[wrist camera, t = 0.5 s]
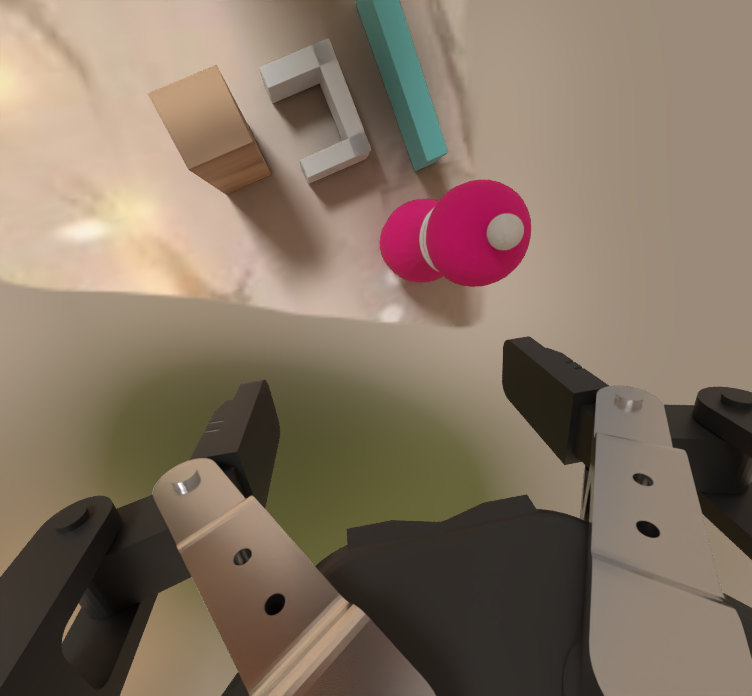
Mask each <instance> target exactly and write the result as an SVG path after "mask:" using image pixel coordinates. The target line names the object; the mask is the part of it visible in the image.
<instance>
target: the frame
mask: <svg viewBox="0 0 752 696" xmlns="http://www.w3.org/2000/svg"><path fill="white" fill-rule="evenodd" d="M259 70H260V73H261V76H262V79H263V83H264V85H265V88H266V90H267V92H268V94H269V97H270V99H271V101H272V103H275V102H277V101H280V100H282V99H284V98H287V97H289V96H291V95H294V94H296V93H298V92H301V91H303V90H305V89H308V88H310V87H312V86H315V85H317V84H320V86H321V89H322V91H323V94H324V96H325V99H326V101H327V103H328V106H329V108H330V111H331V113H332V116H333V118H334V121H335V123H336V126H337V128H338V131H339V133H340V136H341V138H342V141H341V142H338V143H336V144H334V145H332V146H329V147H327V148H325V149H322V150H320V151H318V152H316V153H313V154H311V155H309V156H306V157H304V158H302V159H300V164H301V169H302V171H303V173H304V175H305V178H306V180H307V182H308V184H310V183H312V182H315V181H317V180H319V179H321V178H324V177H326V176H328V175H331V174H333V173H335V172H337V171H340V170H342V169H344V168H346V167H349V166H351V165H353V164H356V163H358V162H360V161H362V160H365V159H367V157H368V155H369V153H370V151H371V147H370V144H369V142H368V139H367V137H366V134H365V131H364V129H363V126H362V123H361V121H360V118H359V116H358V113H357V110H356V108H355V105H354V102H353V100H352V97H351V95H350V92H349V89H348V87H347V84H346V82H345V79H344V76H343V74H342V71H341V68H340V66H339V63H338V61H337V58H336V55H335V53H334V50H333V47H332V45H331V42H330V40H329V38H327V39H324V40H322V41H320V42H317V43H315V44H312V45H310V46H308V47H305V48H303V49H301V50H298V51H296V52H294V53H291V54H289V55H286V56H284V57H282V58H279V59H277V60H275V61H272V62H270V63H268V64H265V65H263V66H260V67H259Z"/></svg>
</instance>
